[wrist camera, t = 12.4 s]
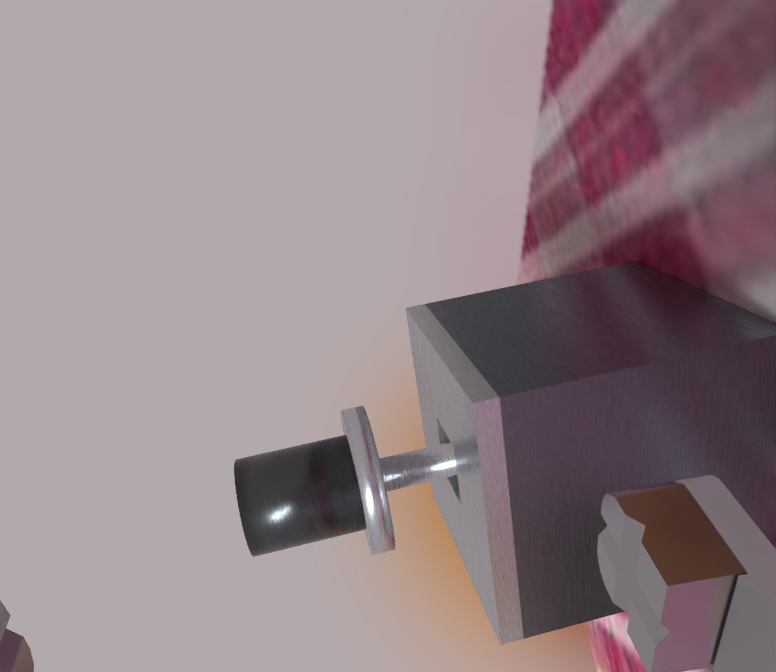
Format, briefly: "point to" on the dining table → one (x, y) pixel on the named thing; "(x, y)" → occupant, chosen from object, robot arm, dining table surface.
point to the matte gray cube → (585, 423)
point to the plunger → (330, 488)
